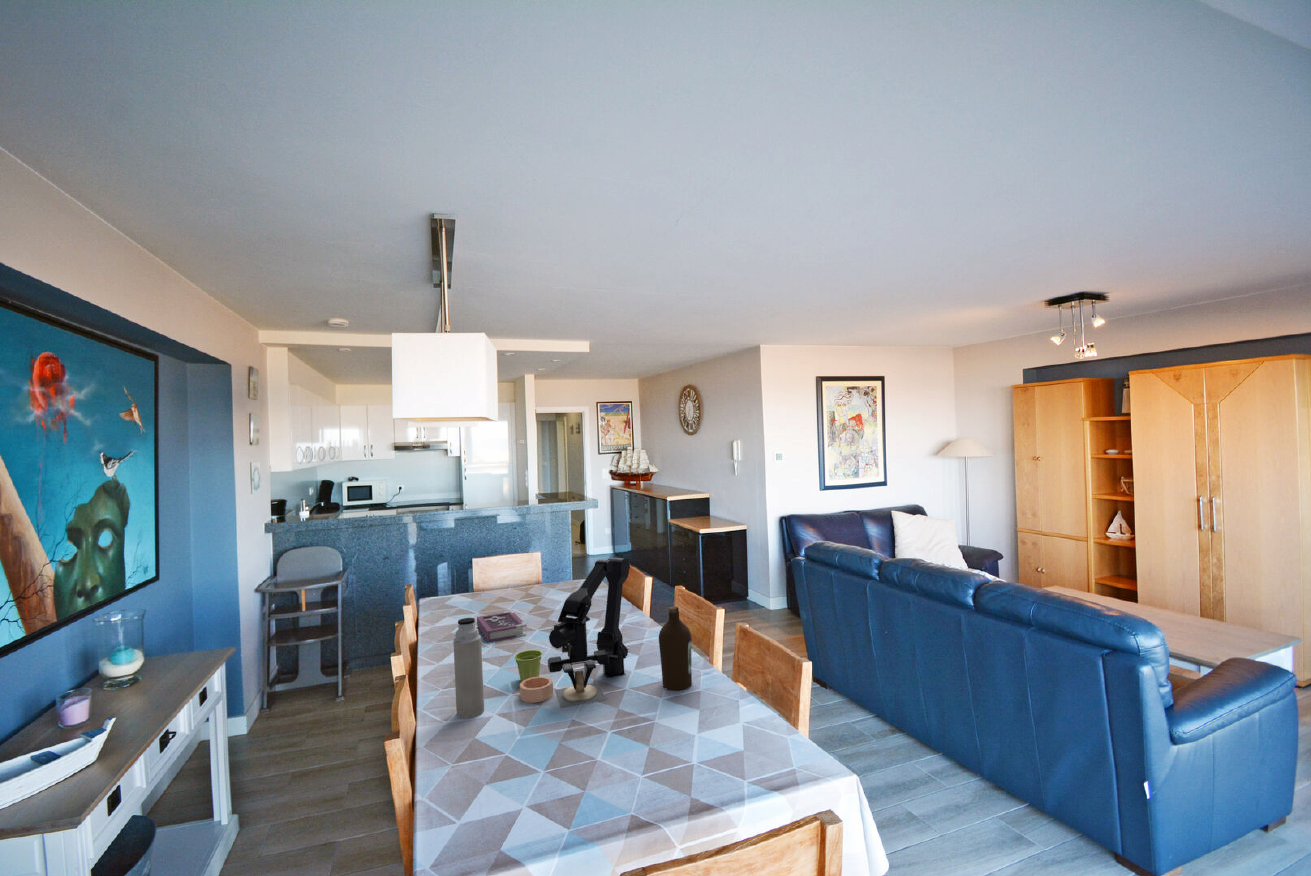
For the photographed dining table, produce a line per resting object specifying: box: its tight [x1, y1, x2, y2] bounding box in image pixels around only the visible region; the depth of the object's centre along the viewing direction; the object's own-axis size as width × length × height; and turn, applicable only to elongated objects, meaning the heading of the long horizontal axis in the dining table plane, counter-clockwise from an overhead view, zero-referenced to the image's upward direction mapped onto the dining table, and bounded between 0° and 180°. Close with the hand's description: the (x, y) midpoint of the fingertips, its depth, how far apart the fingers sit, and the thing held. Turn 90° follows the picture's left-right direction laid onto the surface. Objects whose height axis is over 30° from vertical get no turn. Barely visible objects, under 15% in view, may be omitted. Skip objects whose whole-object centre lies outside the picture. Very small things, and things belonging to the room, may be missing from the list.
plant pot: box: [513, 649, 544, 682], centre depth 200 cm, size 9×9×9 cm
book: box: [476, 610, 527, 643], centre depth 258 cm, size 25×16×5 cm, turn 27°
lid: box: [563, 670, 597, 702], centre depth 185 cm, size 10×10×7 cm
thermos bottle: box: [453, 617, 485, 719], centre depth 178 cm, size 8×8×28 cm
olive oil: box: [658, 605, 693, 692], centre depth 191 cm, size 11×11×25 cm
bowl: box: [519, 676, 554, 704], centre depth 186 cm, size 10×10×4 cm
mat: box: [554, 682, 608, 709], centre depth 185 cm, size 14×14×1 cm
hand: (579, 688), depth 185 cm, fingers open, 3 cm apart
